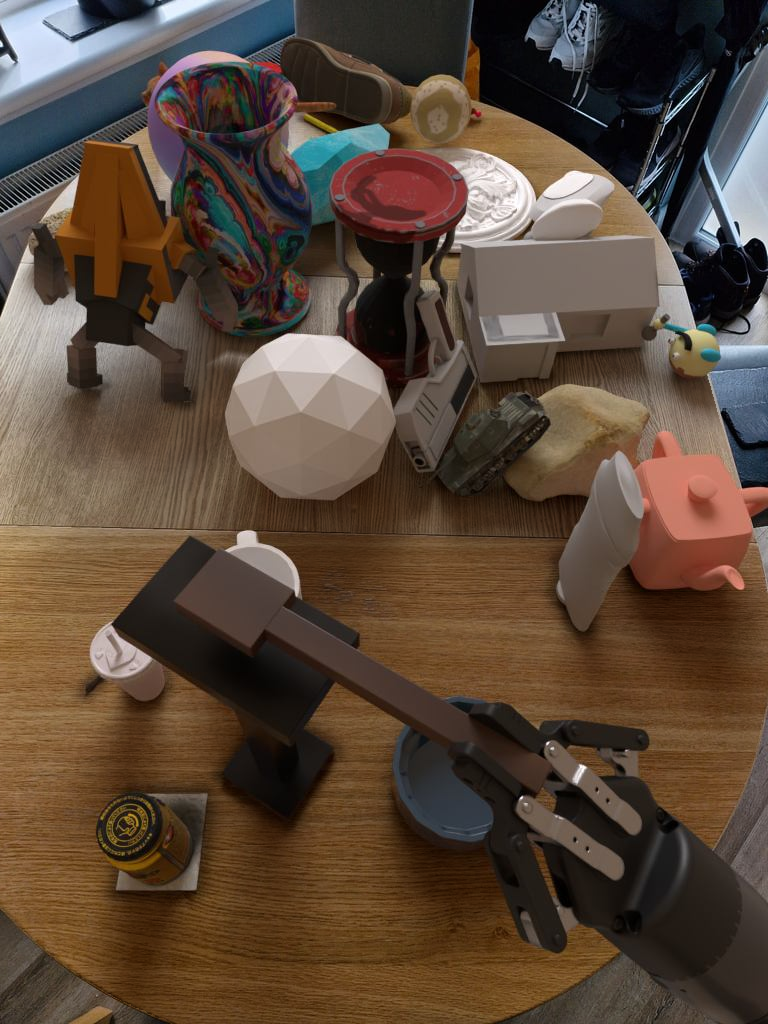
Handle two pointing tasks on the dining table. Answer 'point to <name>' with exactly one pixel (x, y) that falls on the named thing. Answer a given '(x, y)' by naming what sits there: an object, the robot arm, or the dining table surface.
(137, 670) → the smoothie
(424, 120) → the mushroom
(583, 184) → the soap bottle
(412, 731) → the bowl
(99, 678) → the stick
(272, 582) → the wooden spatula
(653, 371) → the dining table surface
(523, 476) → the stone
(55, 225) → the decorative item
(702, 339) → the figurine
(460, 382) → the futuristic handgun
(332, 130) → the pencil
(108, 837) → the condiment
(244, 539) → the mug
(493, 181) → the ceiling medallion
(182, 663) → the black pedestal stand
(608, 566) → the tall pale column
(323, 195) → the crystal
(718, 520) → the teapot
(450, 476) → the toy tank
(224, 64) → the vase
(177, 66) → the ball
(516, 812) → the robot arm
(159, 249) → the toy robot
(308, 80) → the boat shoe
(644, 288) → the miniature house
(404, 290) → the hourglass
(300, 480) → the geometric sculpture
